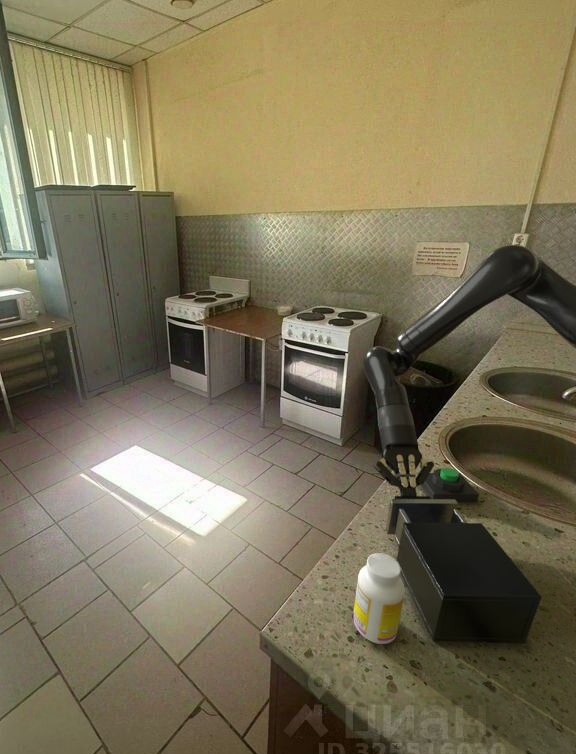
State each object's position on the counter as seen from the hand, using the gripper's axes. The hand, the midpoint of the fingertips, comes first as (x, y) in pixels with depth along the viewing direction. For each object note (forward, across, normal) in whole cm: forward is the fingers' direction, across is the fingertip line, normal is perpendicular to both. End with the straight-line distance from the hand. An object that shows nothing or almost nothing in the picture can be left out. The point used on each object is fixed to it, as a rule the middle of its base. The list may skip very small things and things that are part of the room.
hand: (410, 506), depth 84 cm
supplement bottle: (+20, -15, -14) cm, 29 cm away
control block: (-4, +13, +10) cm, 17 cm away
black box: (+16, 0, -11) cm, 19 cm away
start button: (-7, +13, +7) cm, 16 cm away
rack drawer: (+8, 0, -4) cm, 9 cm away
